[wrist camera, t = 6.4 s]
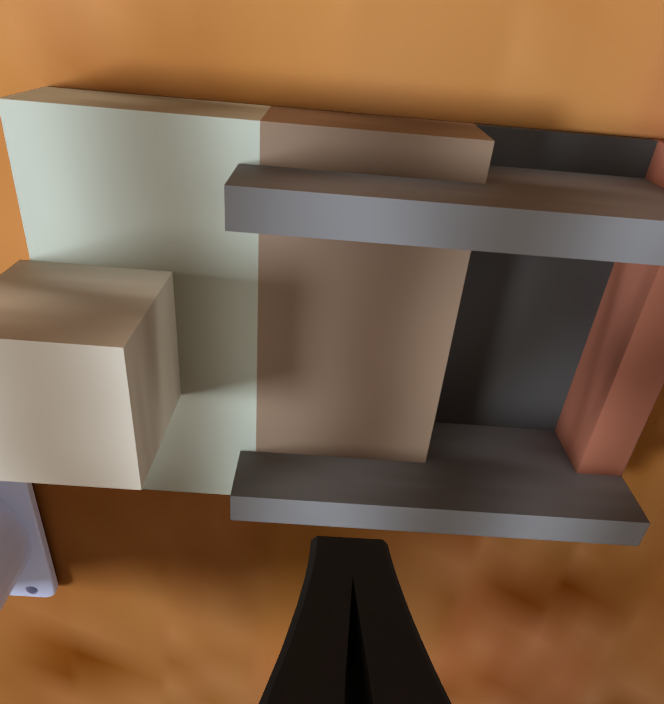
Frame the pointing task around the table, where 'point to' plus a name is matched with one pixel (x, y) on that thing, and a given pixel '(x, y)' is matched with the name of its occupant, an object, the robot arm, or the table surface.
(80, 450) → the cream block
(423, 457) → the tunnel deck
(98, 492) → the table surface
